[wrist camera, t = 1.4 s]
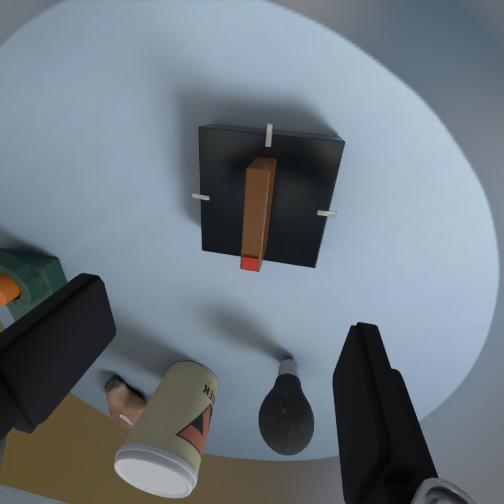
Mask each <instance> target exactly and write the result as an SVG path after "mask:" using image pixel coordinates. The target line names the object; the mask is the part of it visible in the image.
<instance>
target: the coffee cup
mask: <svg viewBox="0 0 504 504" xmlns="http://www.w3.org/2000/svg"><path fill="white" fill-rule="evenodd" d="M217 389H218V381H217V378H216V376H215V375H214V374H213V373H212V372H211V371H210V370H209V369H207V368H206V367H204V366H202V365H200V364H197V363H194V362H188V361H181V362H177V363H174V364H173V365H172V366H171V367H170V368H169V369H168V371H167V372H166V374H165V376H164V377H163V379H162V380H161V382H160V384H159V385H158V387H157V389H156V390H155V392H154V394H153V395H152V397H151V399H150V400H149V402H148V404H147V405H146V407H145V409H144V410H143V412H142V414H141V415H140V417H139V418H138V420H137V422H136V424H135V425H134V427H133V429H132V430H131V432H130V434H129V435H128V437H127V439H126V441H125V442H124V444H123V446H122V447H121V448H120V449H119V450H118V452H117V454H116V461H115V464H114V467H115V470H116V472H117V473H118V474H119V475H120V477H121V478H123V479H124V480H125V481H127V482H128V483H129V484H131V485H133V486H135V487H137V488H139V489H141V490H143V491H146V492H148V493H151V494H155V495H158V496H162V497H168V498H182V497H186V496H187V495H189V494H190V493H191V491H192V489H193V488H194V487H195V485H196V483H197V477H198V476H197V473H198V470H199V465H200V462H201V458H202V454H203V450H204V446H205V441H206V437H207V433H208V429H209V424H210V420H211V416H212V411H213V407H214V403H215V399H216V394H217Z"/></svg>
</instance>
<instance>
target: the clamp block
mask: <svg viewBox="0 0 504 504" xmlns="http://www.w3.org/2000/svg"><path fill="white" fill-rule="evenodd" d="M272 129H273V124H267V129H259V128H249V127H239V126H228V125H218V124H209V125H205V126H200V127H199V162H200V194H195V193H193V194H192V198H195V199H201V231H202V250H203V251H209V252H215V253H222V254H228V255H234V256H241V250H242V233H243V216H244V200H245V183H246V169H247V168H248V166H249V165H250V164H251V163H252V162H253V161H254V160H255V159H256V158H257V157H258V156H259V157H268V158H276V159H277V162H276V170H275V179H274V187H273V196H272V205H271V213H270V222H269V230H268V239H267V246H266V250H265V254H264V258H263V260H266V261H273V262H279V263H286V264H292V265H298V266H305V267H311V268H315V267H316V263H317V259H318V255H319V250H320V246H321V242H322V238H323V233H324V229H325V225H326V221H327V217H328V216H331V217H336V216H337V212H333V211H329V208H330V204H331V200H332V195H333V191H334V187H335V183H336V179H337V174H338V170H339V166H340V162H341V157H342V153H343V149H344V145H345V141H344V140H343V139H342V138H341V137H340V136H331V135H321V134H311V133H300V132H290V131H280V130H272Z"/></svg>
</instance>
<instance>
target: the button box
mask: <svg viewBox="0 0 504 504" xmlns="http://www.w3.org/2000/svg"><path fill="white" fill-rule="evenodd" d="M0 272H1V273H3V274H5V275H6V276H8V277H9V278H10V279H11V280H12V281H13V282H14V283H15V284H16V285H17V286H18V288H19V290H20V292H21V293H20V295H19V296H18V297H16V298H15V299H13V300H12V301H10V302H9V303H7V304H6V306H7V307H8V309H9V311H10V312H11V314H12V316H13V318H14V320H15V322H16V321H17V320H18V319H20V318H21V317H23V316H24V315H25V314H27V313H28V312H29V311H31V310H32V309H33V308H35V307H36V306H37V305H39V304H40V303H41V302H43V301H44V300H45V299H47V298H48V297H49V296H51V295H52V294H53V293H55V292H56V291H57V290H59V289H60V288H61V287H63V286H64V285H66V284H67V282H66V279H65V276H64V273H63V270H62V268H61V265H60V262H59V259H58V258H54V257H48V256H42V255H36V254H30V253H25V252H19V251H13V250H7V249H1V248H0Z"/></svg>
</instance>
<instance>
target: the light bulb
mask: <svg viewBox="0 0 504 504" xmlns="http://www.w3.org/2000/svg"><path fill="white" fill-rule="evenodd" d="M299 370H300V369H299V365H298V364H297V363H296V362H295V361H293V360H292V359H286V360H283V361H282V362H281V363H280V366H279V371H278V377H277V379H276V382H275V385H274V387H273V389H272V390H271V391H270V392H269V393H268V395H267V396H266V397H265V399H264V401H263V403H262V405H261V408H260V411H259V428H260V432H261V435H262V437H263V439H264V441H265V442H266V443H267V445H268V446H269V447H270V448H271V449H272V450H273V451H275V452H277V453H279V454H282V455H288V456H289V455H295V454H297V453H299V452H301V451H302V450H303V449H304V448H306V447H307V445H308V444H309V442H310V440H311V438H312V435H313V431H314V417H313V412H312V409H311V407H310V404H309V402H308V401H307V399H306V397H305V395H304V393H303V391H302V388H301V382H300V380H299Z"/></svg>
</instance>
